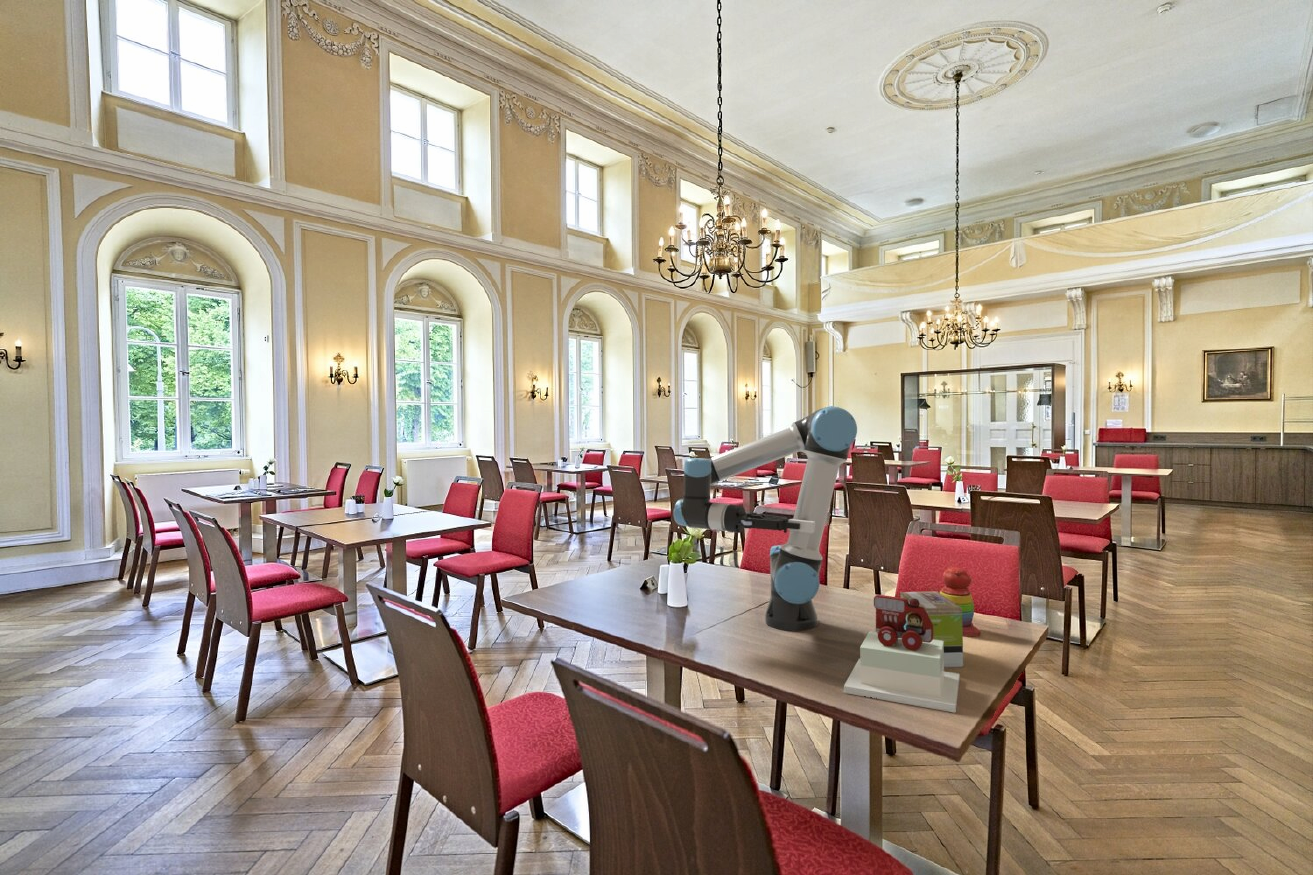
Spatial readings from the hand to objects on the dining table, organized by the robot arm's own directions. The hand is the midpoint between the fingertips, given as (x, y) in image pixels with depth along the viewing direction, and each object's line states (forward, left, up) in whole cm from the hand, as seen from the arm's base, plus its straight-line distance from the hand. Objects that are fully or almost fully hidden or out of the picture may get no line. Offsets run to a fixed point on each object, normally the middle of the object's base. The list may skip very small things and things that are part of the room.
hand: (813, 527), depth 158 cm
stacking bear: (+31, +36, -33) cm, 58 cm away
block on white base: (+22, -11, -33) cm, 41 cm away
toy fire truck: (+22, -11, -23) cm, 34 cm away
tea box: (+26, +11, -33) cm, 43 cm away
